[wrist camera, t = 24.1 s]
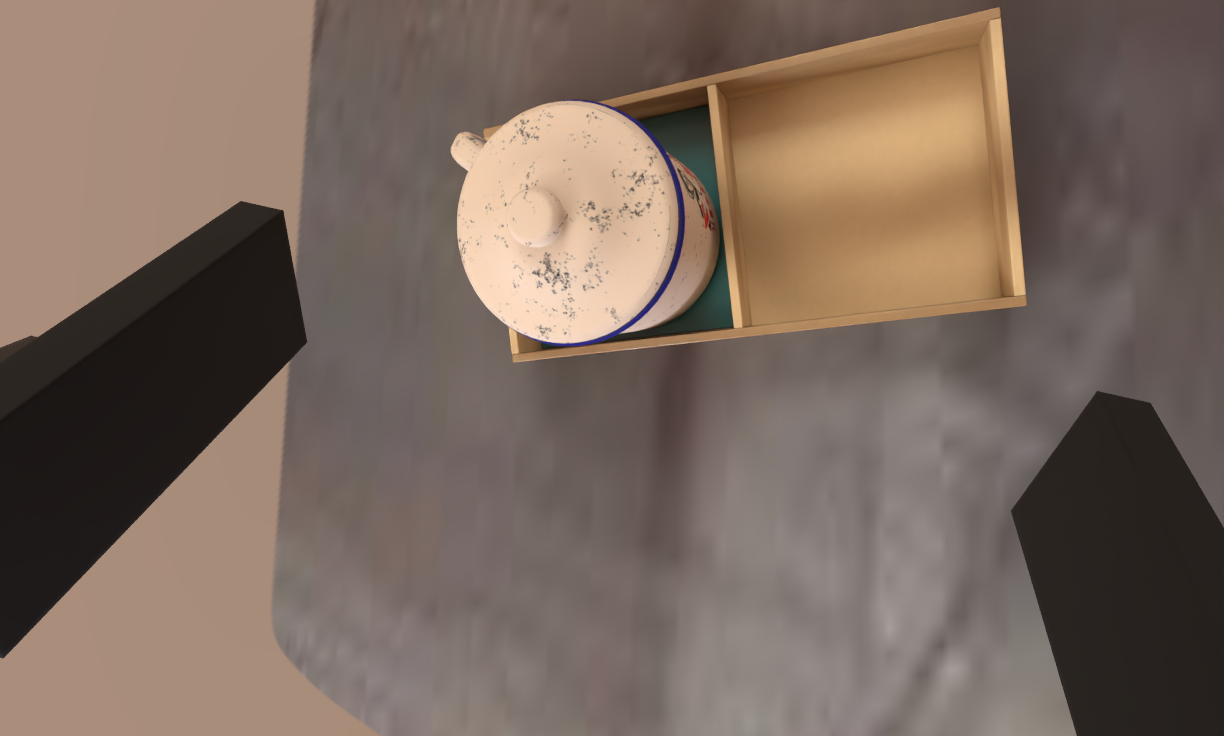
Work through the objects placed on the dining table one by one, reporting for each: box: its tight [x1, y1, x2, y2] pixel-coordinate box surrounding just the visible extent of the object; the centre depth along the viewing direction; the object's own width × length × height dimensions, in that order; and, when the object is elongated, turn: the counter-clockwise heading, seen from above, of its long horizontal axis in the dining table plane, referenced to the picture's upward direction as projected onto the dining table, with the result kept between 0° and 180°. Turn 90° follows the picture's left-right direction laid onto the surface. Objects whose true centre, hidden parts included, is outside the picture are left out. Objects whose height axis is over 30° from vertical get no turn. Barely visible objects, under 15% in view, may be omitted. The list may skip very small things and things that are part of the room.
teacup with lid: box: [451, 100, 720, 346], centre depth 30 cm, size 12×9×12 cm
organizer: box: [483, 7, 1027, 362], centre depth 32 cm, size 11×22×3 cm, turn 97°
